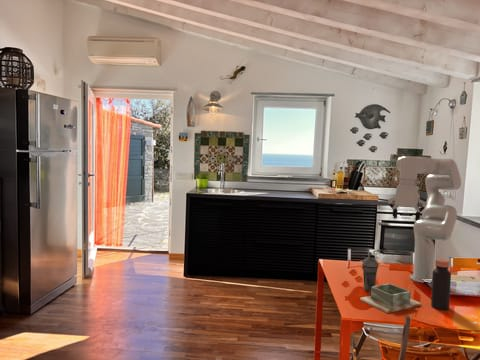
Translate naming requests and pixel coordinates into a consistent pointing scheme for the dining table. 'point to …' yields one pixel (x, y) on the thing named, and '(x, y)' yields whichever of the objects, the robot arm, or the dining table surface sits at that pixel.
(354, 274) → the dining table surface
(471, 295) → the dining table surface
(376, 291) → the bottle caddy
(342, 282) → the dining table surface
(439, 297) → the vinegar
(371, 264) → the beverage cup
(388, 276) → the dining table surface
